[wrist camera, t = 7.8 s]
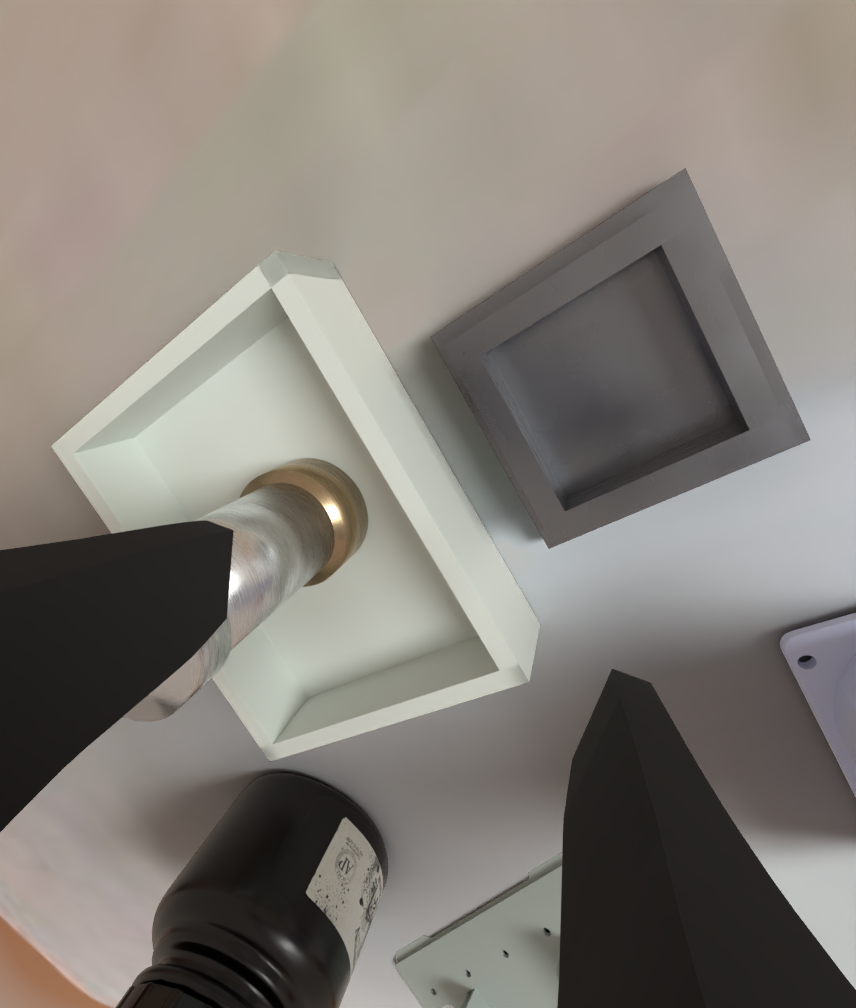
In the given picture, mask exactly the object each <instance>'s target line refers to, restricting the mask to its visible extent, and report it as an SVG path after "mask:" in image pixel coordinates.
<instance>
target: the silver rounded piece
mask: <svg viewBox="0 0 856 1008" xmlns="http://www.w3.org/2000/svg"><path fill="white" fill-rule="evenodd" d="M205 520H207V521H210V522H213V523H215V524H218V525H221V526H224V527H226V528H229V529H232V530H234V532H233V545H232V558H231V571H230V584H229V597H228V610H227V619H226V620H225V621H224V622H223V623H222V625H221V626H220V627H219V628H218V629H217V630H216V631H215V633H214V634H213V635H212V636H211V637H210V638H209V639H208V641H207V642H206V643H205V644H204V645H203V646H202V647H201V648H200V649H199V650H198V651H197V652H196V653H195V654H194V656H193V657H192V658H191V659H189V660H188V661H187V662H186V663H185V664H184V665H183V666H182V667H180V668H179V669H178V670H177V671H176V672H175V673H173V674H172V675H171V676H170V677H169V678H168V679H167V680H165V681H164V682H163V683H162V684H161V685H160V686H158V687H157V688H156V689H155V690H154V691H152V692H151V693H150V694H149V695H148V696H147V697H145V698H144V699H143V700H142V701H141V702H139V703H138V704H137V705H136V706H135V707H133V708H132V709H131V710H130V711H129V712H128V713H126V714H125V715H124V716H123V717H125V718H129V719H133V720H137V721H156V720H161V719H164V718H166V717H168V716H170V715H172V714H173V713H174V712H175V711H176V710H177V709H179V708H180V707H181V706H182V705H183V704H184V703H185V702H186V701H187V700H188V699H189V698H191V697H192V696H193V695H194V694H195V693H196V692H197V691H198V690H199V689H200V688H201V687H202V686H204V685H205V684H206V683H207V682H208V681H209V680H210V679H211V678H212V677H213V676H214V675H216V674H217V673H218V672H219V671H220V670H221V669H222V667H223V666H224V665H225V663H226V661H227V659H228V656H229V653H230V651H231V650H232V649H233V648H234V647H235V646H236V645H237V644H239V643H240V642H241V641H242V640H243V639H244V638H245V637H246V636H248V635H249V634H250V633H251V632H252V631H253V630H254V629H255V628H257V627H258V626H259V625H260V624H261V623H262V622H263V621H264V620H266V619H267V618H268V617H269V616H270V615H271V614H272V613H273V612H274V611H276V610H277V609H278V608H279V607H280V606H281V605H282V604H283V603H285V602H286V601H287V600H288V599H289V598H290V597H291V596H292V595H294V594H295V593H296V592H297V591H298V590H299V589H300V588H301V587H307V586H313V585H317V584H319V583H321V582H324V581H325V580H327V579H328V578H329V577H330V576H332V575H333V574H334V573H335V572H336V571H337V570H338V569H339V568H340V567H341V566H342V565H343V564H344V563H345V562H346V561H347V560H349V559H350V558H351V557H352V556H353V555H354V554H355V553H356V552H357V551H358V549H359V548H360V547H361V545H362V544H363V542H364V539H365V537H366V533H367V529H368V513H367V507H366V504H365V501H364V498H363V496H362V494H361V492H360V490H359V488H358V487H357V485H356V484H355V483H354V481H353V480H352V479H351V478H350V477H349V476H348V475H347V474H346V473H345V472H344V471H343V470H341V469H340V468H338V467H337V466H335V465H333V464H331V463H329V462H327V461H324V460H320V459H316V458H301V459H296V460H294V461H291V462H289V463H286V464H284V465H282V466H280V467H278V468H275V469H273V470H271V471H269V472H266V473H264V474H262V475H260V476H258V477H256V478H255V479H253V480H252V481H251V482H250V483H249V484H248V485H247V486H246V487H245V488H244V490H243V491H242V493H241V495H240V497H239V499H237V500H235V501H233V502H231V503H229V504H227V505H225V506H223V507H221V508H219V509H217V510H215V511H213V512H211V513H209V514H207V515H205V516H203V517H201V518H199V519H196V520H194V521H205Z"/></svg>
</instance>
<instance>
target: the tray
mask: <svg viewBox="0 0 856 1008" xmlns="http://www.w3.org/2000/svg"><path fill="white" fill-rule="evenodd" d="M51 447H52V448H53V450H54V451H55V452H56V454H57V455H58V457H59V458H60V460H61V461H62V463H63V464H64V465H65V467H66V468H67V470H68V471H69V473H70V474H71V476H72V477H73V478H74V480H75V481H76V483H77V484H78V486H79V487H80V489H81V490H82V491H83V493H84V494H85V496H86V497H87V499H88V500H89V501H90V503H91V504H92V506H93V507H94V509H95V510H96V512H97V513H98V514H99V516H100V517H101V519H102V520H103V522H104V523H105V525H106V526H107V527H108V529H109V530H110V532H111V533H112V534H113V533H119V532H125V531H131V530H137V529H143V528H149V527H155V526H161V525H168V524H175V523H182V522H191V521H194V520H196V519H199V518H201V517H203V516H205V515H207V514H209V513H211V512H213V511H215V510H217V509H219V508H221V507H223V506H225V505H227V504H229V503H231V502H233V501H235V500H237V499H239V497H240V495H241V493H242V491H243V490H244V488H245V487H246V486H247V485H248V484H249V483H250V482H251V481H252V480H253V479H255V478H256V477H258V476H260V475H262V474H264V473H266V472H269V471H271V470H273V469H275V468H278V467H280V466H282V465H284V464H286V463H289V462H291V461H294V460H296V459H301V458H316V459H320V460H324V461H327V462H329V463H331V464H333V465H335V466H337V467H338V468H340V469H341V470H343V471H344V472H345V473H346V474H347V475H348V476H349V477H350V478H351V479H352V480H353V481H354V483H355V484H356V485H357V487H358V488H359V490H360V492H361V494H362V496H363V498H364V501H365V504H366V507H367V513H368V529H367V533H366V537H365V539H364V542H363V544H362V545H361V547H360V548H359V549H358V551H357V552H356V553H355V554H354V555H353V556H352V557H351V558H350V559H349V560H347V561H346V562H345V563H344V564H343V565H342V566H341V567H340V568H339V569H338V570H337V571H336V572H335V573H334V574H333V575H332V576H330V577H329V578H328V579H327V580H325V581H324V582H321V583H319V584H317V585H313V586H307V587H301V588H300V589H299V590H298V591H297V592H296V593H295V594H294V595H292V596H291V597H290V598H289V599H288V600H287V601H286V602H285V603H283V604H282V605H281V606H280V607H279V608H278V609H277V610H276V611H274V612H273V613H272V614H271V615H270V616H269V617H268V618H267V619H266V620H264V621H263V622H262V623H261V624H260V625H259V626H258V627H257V628H255V629H254V630H253V631H252V632H251V633H250V634H249V635H248V636H246V637H245V638H244V639H243V640H242V641H241V642H240V643H239V644H237V645H236V646H235V647H234V648H233V649H232V650H231V651H230V653H229V656H228V659H227V661H226V663H225V665H224V666H223V667H222V669H221V670H220V671H219V672H218V673H217V674H216V675H214V676H213V677H212V679H213V680H214V682H215V683H216V685H217V686H218V688H219V689H220V691H221V692H222V693H223V695H224V696H225V698H226V699H227V701H228V702H229V704H230V705H231V706H232V708H233V709H234V711H235V712H236V714H237V715H238V716H239V718H240V719H241V721H242V722H243V724H244V725H245V727H246V728H247V729H248V731H249V732H250V734H251V735H252V737H253V738H254V740H255V741H256V742H257V744H258V745H259V747H260V748H261V750H262V751H263V753H264V754H265V755H266V757H267V758H268V760H269V761H270V762H271V761H274V760H277V759H281V758H284V757H287V756H290V755H294V754H297V753H300V752H303V751H307V750H310V749H313V748H317V747H320V746H323V745H326V744H330V743H333V742H336V741H339V740H343V739H346V738H349V737H352V736H356V735H359V734H362V733H365V732H369V731H372V730H375V729H378V728H382V727H385V726H388V725H391V724H395V723H398V722H401V721H404V720H408V719H411V718H414V717H418V716H421V715H424V714H427V713H431V712H434V711H437V710H440V709H444V708H447V707H450V706H453V705H457V704H460V703H463V702H466V701H470V700H473V699H476V698H479V697H483V696H486V695H489V694H492V693H496V692H499V691H502V690H506V689H509V688H512V687H515V686H519V685H522V684H525V683H528V682H529V681H530V676H531V671H532V666H533V661H534V655H535V650H536V645H537V640H538V635H539V629H540V623H539V621H538V620H537V618H536V616H535V614H534V613H533V611H532V609H531V608H530V606H529V604H528V602H527V601H526V599H525V597H524V595H523V594H522V592H521V590H520V588H519V587H518V585H517V583H516V581H515V580H514V578H513V576H512V574H511V573H510V571H509V569H508V568H507V566H506V564H505V562H504V561H503V559H502V557H501V555H500V554H499V552H498V550H497V548H496V547H495V545H494V543H493V541H492V540H491V538H490V536H489V534H488V533H487V531H486V529H485V528H484V526H483V524H482V522H481V521H480V519H479V517H478V515H477V514H476V512H475V510H474V508H473V507H472V505H471V503H470V501H469V500H468V498H467V496H466V494H465V493H464V491H463V489H462V488H461V486H460V484H459V482H458V481H457V479H456V477H455V475H454V474H453V472H452V470H451V468H450V467H449V465H448V463H447V461H446V460H445V458H444V456H443V455H442V453H441V451H440V449H439V448H438V446H437V444H436V442H435V441H434V439H433V437H432V435H431V434H430V432H429V430H428V428H427V427H426V425H425V423H424V421H423V420H422V418H421V416H420V415H419V413H418V411H417V409H416V408H415V406H414V404H413V402H412V401H411V399H410V397H409V395H408V394H407V392H406V390H405V388H404V387H403V385H402V383H401V381H400V380H399V378H398V376H397V375H396V373H395V371H394V369H393V368H392V366H391V364H390V362H389V361H388V359H387V357H386V355H385V354H384V352H383V350H382V348H381V347H380V345H379V343H378V342H377V340H376V338H375V336H374V335H373V333H372V331H371V329H370V328H369V326H368V324H367V322H366V321H365V319H364V317H363V315H362V314H361V312H360V310H359V308H358V307H357V305H356V303H355V302H354V300H353V298H352V296H351V295H350V293H349V291H348V289H347V288H346V286H345V284H344V282H343V281H342V279H341V277H340V275H339V274H338V272H337V270H336V268H335V267H334V265H333V263H332V262H329V261H324V260H319V259H314V258H309V257H304V256H299V255H294V254H289V253H284V252H279V251H274V252H273V253H272V254H271V255H269V256H268V257H267V258H266V259H265V260H264V261H262V262H261V263H260V264H259V265H258V266H257V267H256V268H254V269H253V270H252V271H251V272H250V273H249V274H248V275H246V276H245V277H244V278H243V279H242V280H241V281H240V282H238V283H237V284H236V285H235V286H234V287H233V288H232V289H230V290H229V291H228V292H227V293H226V294H225V295H224V296H222V297H221V298H220V299H219V300H218V301H217V302H216V303H214V304H213V305H212V306H211V307H210V308H209V309H208V310H206V311H205V312H204V313H203V314H202V315H201V316H200V317H198V318H197V319H196V320H195V321H194V322H193V323H191V324H190V325H189V326H188V327H187V328H186V329H185V330H183V331H182V332H181V333H180V334H179V335H178V336H177V337H175V338H174V339H173V340H172V341H171V342H170V343H169V344H167V345H166V346H165V347H164V348H163V349H162V350H161V351H159V352H158V353H157V354H156V355H155V356H154V357H153V358H151V359H150V360H149V361H148V362H147V363H146V364H145V365H143V366H142V367H141V368H140V369H139V370H138V371H137V372H135V373H134V374H133V375H132V376H131V377H130V378H129V379H127V380H126V381H125V382H124V383H123V384H122V385H121V386H119V387H118V388H117V389H116V390H115V391H114V392H112V393H111V394H110V395H109V396H108V397H107V398H106V399H104V400H103V401H102V402H101V403H100V404H99V405H98V406H96V407H95V408H94V409H93V410H92V411H91V412H90V413H88V414H87V415H86V416H85V417H84V418H83V419H82V420H80V421H79V422H78V423H77V424H76V425H75V426H74V427H72V428H71V429H70V430H69V431H68V432H67V433H66V434H64V435H63V436H62V437H61V438H60V439H59V440H58V441H56V442H55V443H54V444H53V445H52V446H51Z"/></svg>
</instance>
